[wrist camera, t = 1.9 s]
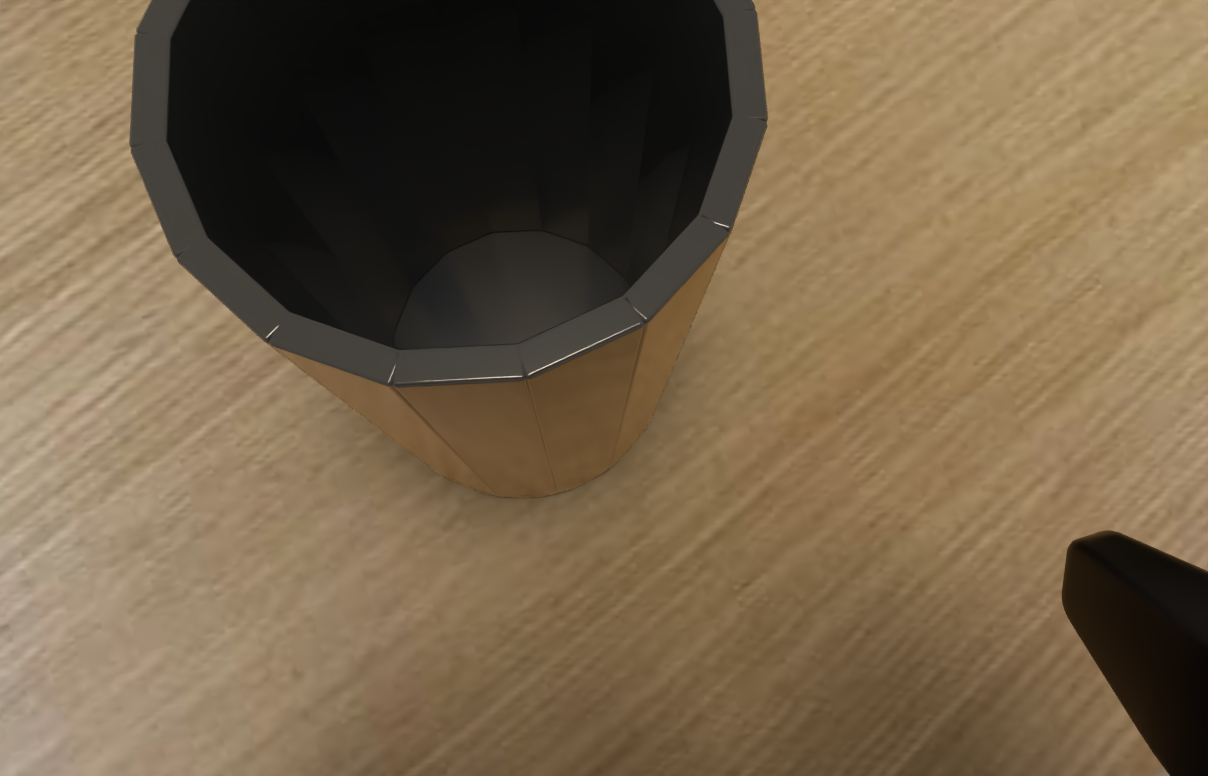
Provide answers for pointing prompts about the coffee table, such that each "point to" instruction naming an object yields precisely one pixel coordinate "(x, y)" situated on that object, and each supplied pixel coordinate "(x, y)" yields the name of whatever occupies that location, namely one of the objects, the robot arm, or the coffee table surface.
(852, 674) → the coffee table surface
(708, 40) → the pen cup
